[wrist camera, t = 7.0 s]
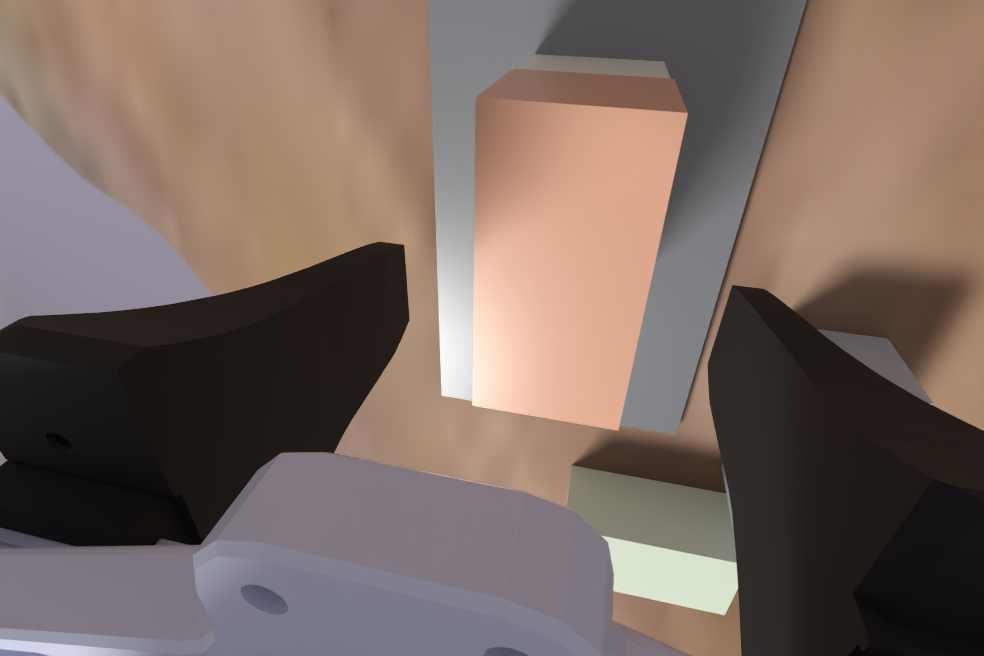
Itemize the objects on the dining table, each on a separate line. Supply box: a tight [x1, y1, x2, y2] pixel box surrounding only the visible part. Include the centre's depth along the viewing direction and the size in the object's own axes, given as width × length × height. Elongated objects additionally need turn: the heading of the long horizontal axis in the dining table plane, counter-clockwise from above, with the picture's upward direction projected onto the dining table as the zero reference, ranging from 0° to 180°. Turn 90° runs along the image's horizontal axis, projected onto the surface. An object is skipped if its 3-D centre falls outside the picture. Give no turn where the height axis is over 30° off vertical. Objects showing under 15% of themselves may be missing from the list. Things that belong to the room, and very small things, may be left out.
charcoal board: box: [428, 0, 807, 435], centre depth 19 cm, size 22×11×1 cm, turn 179°
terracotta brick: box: [472, 69, 688, 430], centre depth 14 cm, size 8×4×4 cm, turn 179°
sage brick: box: [565, 465, 738, 615], centre depth 26 cm, size 8×4×4 cm, turn 89°
